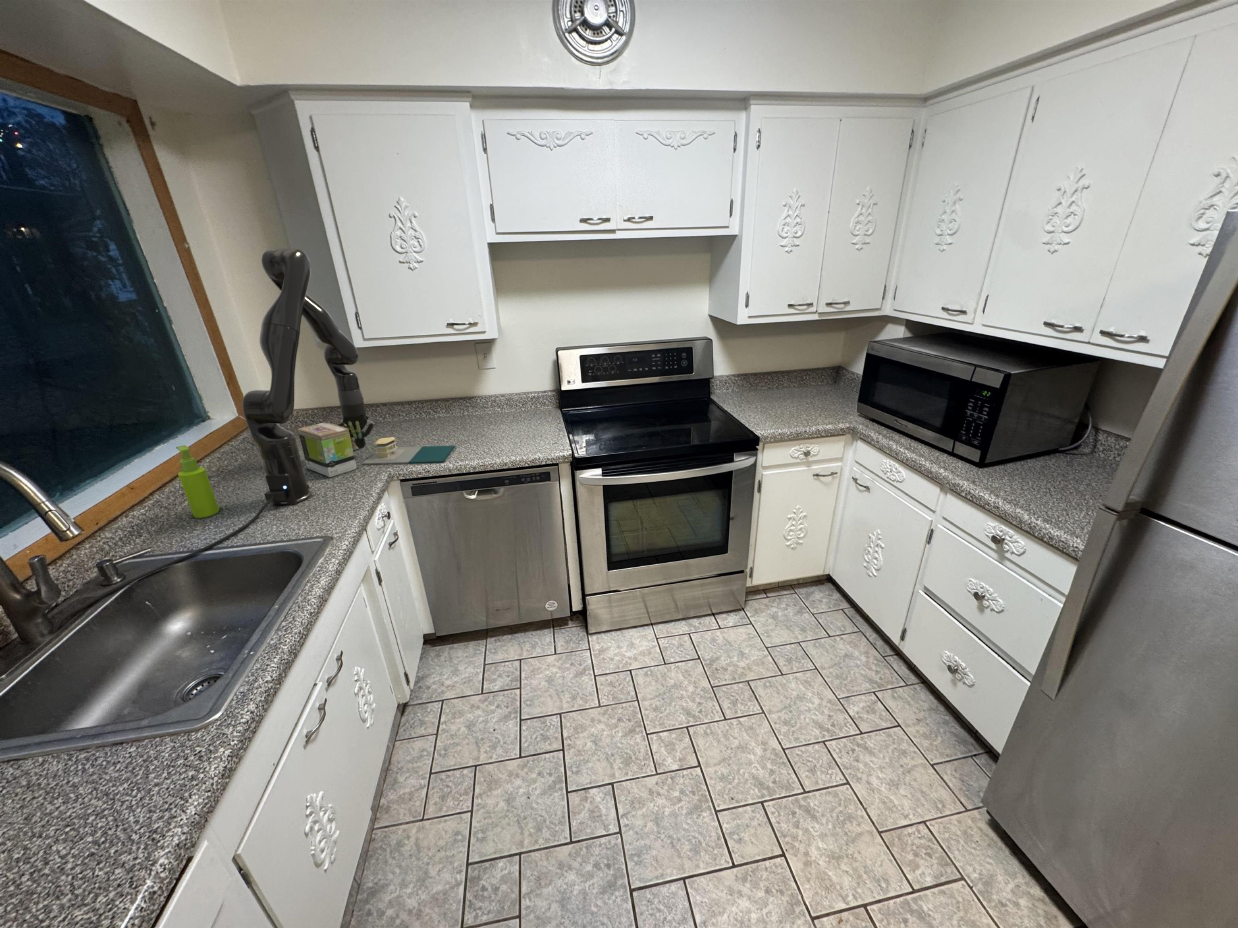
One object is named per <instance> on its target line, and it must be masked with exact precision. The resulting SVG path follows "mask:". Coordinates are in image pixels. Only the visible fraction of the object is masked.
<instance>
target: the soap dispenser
mask: <svg viewBox="0 0 1238 928" xmlns="http://www.w3.org/2000/svg"><path fill="white" fill-rule="evenodd" d="M175 449H177V450H178V451H179V452H180V455H181V457H182V458H181V459H180V460H179V463H180V465H181V469H182V470H181V471H179V472H178V473H177V476H178V478H179V481H180V484H181V486H182V489H183V492H184V494H185V497H186V499H187V502H188V505H189V508H190V510H191V511H190V512H191V513H192V517H193V518H196V519H204V518H208V517H211V516H214V515H217V514H218V513H219V512H220V507H219V505H218V502H217V499H216V496H215V493H214V490H213V487H212V485H211V482H210V478H209V477H208V474H207V470H206V468H205V467H203V466H199V465H198V462H197V459H196V457H195V456H191V453H190V451H191V450H190V447H188V446H187V445H186V444H183V445H179V446H176V447H175Z"/></svg>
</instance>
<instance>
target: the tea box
mask: <svg viewBox="0 0 1238 928" xmlns="http://www.w3.org/2000/svg"><path fill="white" fill-rule="evenodd" d="M337 425H338V424H333V423H330V422H327V421H324V422H321V423H316V424H313V425H307V426H304V427H300V428H297V432H298V438H299V441H300V444H301V445H300V446H301V448H302V452H303V457H304V460H305V464H306V468H307V469H309V470H311V471H313V472H315V473H318V474H320V475H323V476H326V477H328V478H332V477H335V476H339V475H343V474H345V473H348V472H351V471H353V470H357V463H356V458H355V454H354V450H353V448H352V443H351V439H350V434H349V430H348V428H344V427H341V426H337Z"/></svg>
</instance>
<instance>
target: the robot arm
mask: <svg viewBox="0 0 1238 928" xmlns="http://www.w3.org/2000/svg"><path fill="white" fill-rule="evenodd" d="M261 265H262V268H263V270H264V272H265V275H266V276H267V277H268V278H269V279H270V281H271V282H272V283H273V284H274V285H275V286H276V287H277V288H278V289H279V290H280V292H279V295H278V297H277V298H276V299H275V301H274V302H273V303H272V305H270V307H269V309H268V310H267V311H266V313H265V314H264V316H263V319H262V321H261V326H260V332H259V333H260V334H259V346H260V349H261V352H262V354H263V356H264V357H265V360H266V361H267V364H268V365H269V369H270V372H271V378H270V379H271V380H270V388H269V390H265V389H264V390H263V389H262V390H261V389H254V390H250V391H247V392H246V393H245V395H244V396H243V398H242V401H241V407H242V408H241V409H242V413H243V416H244V419H245V422H246V425H247V427H248V430H249V433H250V435H251V438H252V440H253V441H254V442H255V443H256V444H257V447H258V451H259V453H260V457H261V461H262V463H263V467H264V471H265V474H266V475H265V476H264V477H265V481H266V483H267V487H268V490H267V491H266V492H265V493H263V495H264V497H265V501H266V502H265V504H263V506H262V507H261V508H260V509H259V510H258V512H257V513H256V514H255V515H254V516H253V518H251V519H250V520H249V521H248V522H246V523H245V524H244V525H242V526H240V527H239V528H237V529H236V530H234V531H232V532H231V533H229V534H227V535H226V536H224V537H222V538H220V539H218V540H215V541H214V542H212V543H210V544H208V545H206V546H204V547H202V548H199V549H198V550H194V551H193V552H190V553H188V554H186V555H184V556H181V557H179V558H176V559H173V560H171V561H170V562H168V563H165V564H162V565H160V566H158V567H156V568H154V569H151V570H149V571H146V572H144V573H142V574H140V575H138V576H135V577H133V578H131V579H128V580H127V581H125V582H123V583H120V584H119V585H117V586H115V587H112V588H111V589H109V590H107V591H105V592H103V593H101V594H99V595H98V596H96V597H94V598H92V599H91V600H89V601H87V602H86V603H84V604H82V605H80V606H79V607H76V608H75V609H73V610H70V611H69V612H67V613H65V614H64V615H62V616H61V617H60V618H59V619H58V620H57V622H56V624H54V626H53V628H52V631H51V633H56V632H58V631H59V628H60V627H61V626H62V624H63V623H64V622H65V620H67V619H68V618H69V617H71V616H72V615H75V614H76V613H78V612H80V611H82V610H83V609H84V610H85V609H86V608H87V607H90V605H92V604H94V603H96V602H98V601H99V600H101V599H103V598H105V597H106V596H108V595H110V594H112V593H114V592H117V591H118V590H119V589H122V588H123V587H126V586H128V585H130V584H132V583H134V582H136V581H139V580H141V579H142V578H145V577H147V576H149V575H151V574H153V573H156V572H159V571H161V570H164V569H165V568H167V567H169V566H171V565H172V566H173V565H174V564H177V563H178V562H181V561H184V560H185V559H188V558H190V557H193V556H195V555H197V554H199V553H202V552H204V551H206V550H209V549H210V548H212V547H214V546H217V545H218V544H220V543H222V542H224V541H225V540H228V539H229V538H231V537H233V536H234V535H236V534H238V533H240V532H241V531H242V530H244V529H245V528H247V527H248V526H250V525H251V524H252V523H254V522H255V521H256V520H257V519H258V518H259V517H260V515H261V514H262V513H263V512H264V510H265V509H266V508H267V507H268V505H270V504H271V503H272V504H273V505H274V506H281V505H284V506H285V505H296V504H297V503H300V502H302V501H304V500H306V499H308V498H310V496H311V491H310V490H311V488H310V485H309V483H308V481H307V478H306V474H305V470H304V466H303V462H302V459H301V455H300V450H299V448H298V444H297V440H296V437H295V434H294V433H293V432H292V431H290V430H288V429H286V428H285V427H282V426H281V425H280V424H285V423H287V422H289V421H290V420H291V418H292V416H293V413H294V409H295V379H296V378H295V376H296V367H297V356H298V351H299V350H298V349H299V344H300V337H301V336H300V335H301V325H302V319H303V318H304V320H305V321H306V323H307V324H308V326H309V328H310V329H311V330H312V332H313V333H314V336H316V338H317V339H318V340H319V342H321V343H323V344H325V345H326V346H325V347H324V350H323V357H324V361H325V363H326V364H327V365H326V366H328V368H329V371H330V372H331V374H332V376H333V377H334V380H335V381H334V382H335V385H336V389H337V398H338V402H339V406H340V411H341V415H342V416H343V417H342V419H343V421H342V420H341V422H340V423H338V424H336V425H337V426H341V427H344V428H348V427H349V428H350V429H349V428H348V430H349V434H350V437H353V438H354V439H355V442H356V446H357V447H358V448H359V449H364V448H365V447H366V445H367V444H366V439H365V438H366V437H368V436H369V435H370V434H371V432H372V430H373V429H374V427H375V425H376V421H371V420H370V419H369V416H367V411H366V406H365V401H364V396H363V392H362V390H361V387H360V381H359V377H358V374H357V372H355V371H353V370H350V369H348V367H347V366H352V365H355V364H356V363H357V362H358V361H359V351H358V348H357V347H356V346H355V344H354V343H353V342H352V341H351V340H350V338H348V337H347V336H346V335H345V334H344V333H343V332H342V331H341V330H340V329H339V327H338V325H337V324H336V323H335V320H334V319H333V317H332V316H331V314H330V313H329V312H328V310H327V309H325V307H323V306H322V305H321V304H320V303H318V302H317V301H316V300H315V299H314V298H312V297H311V296H310V295H309V294H308V293H307V292H308V289H309V286H310V281H311V276H312V265H311V260H310V258H309V256H308V255H307V253H306V252H305V251H303V250H302V249H300V248H292V247H291V248H289V247H288V248H273V249H267V250H265V251H264V252H263V253H262V255H261ZM302 317H303V318H302ZM347 426H348V427H347ZM365 427H366V429H365Z"/></svg>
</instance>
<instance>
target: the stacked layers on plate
mask: <svg viewBox="0 0 1238 928" xmlns="http://www.w3.org/2000/svg"><path fill="white" fill-rule="evenodd" d="M397 442H398V441H397V440H396V437H394V436H391V437H381V438H379V439H377V441H376V442H375V443H374V444H375V445H376V446H375V449H376V451H377V450H378V451H377V454H376V455H375V456H373V457H372V458H371V459H370V460H380V459H396V458H397V457H398V456H399V455H400V454H401V453H402V452H403V451H404V450H395V449H396V448H398V447H399V446H397Z"/></svg>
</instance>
